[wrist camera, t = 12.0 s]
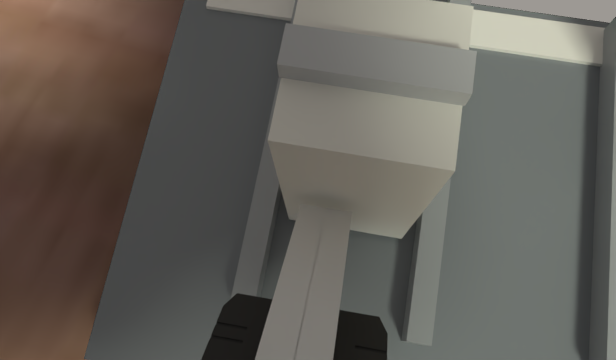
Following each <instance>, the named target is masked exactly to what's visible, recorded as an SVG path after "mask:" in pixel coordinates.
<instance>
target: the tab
mask: <svg viewBox="0 0 616 360" xmlns="http://www.w3.org/2000/svg"><path fill="white" fill-rule="evenodd" d="M473 9H474V6H468V5H461V4H454V3H447V2H440V1H433V0H298V1H297V6H296V11H295V15H294V20H293V24H289V23H286V24H285V29H284V33H283V38H282V43H281V47H280V52H279V56H278V61H277V69H278V75H279V77H280V78H281V81H280V85H279V90H278V94H277V99H276V104H275V108H274V113H273V118H272V122H271V127H270V132H269V136H268V144H269V147H270V151H271V155H272V158H273V162H274V166H275V169H276V173H277V177H278V181H279V184H280V188H281V192H282V195H283V199H284V203H285V206H286V210H287V214H288V217H289V219H290V220H296V218H297V215H298V212H299V208H300V205H301V204H305V205H311V206H317V207H323V208H329V209H335V210H341V211H348V212H352V216H351V224H350V230H353V231H359V232H365V233H370V234H376V235H382V236H388V237H393V238H399V239H402V238H403V236H404V235H405V234H406V233H407V231H408V230H409V229H410V227H411V226H412V225H413V224H414V222H415V221H416V220H417V219H418V217H419V216H420V215H421V214H422V212H423V211H424V210H425V209H426V207H427V206H428V205H429V204H430V202H431V201H432V200H433V199H434V197H435V196H436V195H437V193H438V192H439V191H440V190H441V188H442V187H443V186H444V185H445V183H446V182H447V181H448V180H449V178H450V177H451V176H452V175H453V173H454V172H455V169H456V160H457V151H458V142H459V133H460V125H461V116H462V107H463V106H465V105H466V104H467V102H468V100H469V99H470V97H471V95H472V92H473V83H474V74H475V64H476V55H477V51H472V50H469V45H470V36H471V27H472V18H473Z"/></svg>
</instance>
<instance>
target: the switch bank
mask: <svg viewBox="0 0 616 360" xmlns="http://www.w3.org/2000/svg"><path fill="white" fill-rule="evenodd" d="M297 1H298V0H185V1H184V4H183V8H182V12H181V15H180V19H179V22H178V26H177V29H176V33H175V36H174V40H173V44H172V47H171V51H170V54H169V58H168V61H167V65H166V69H165V72H164V76H163V79H162V83H161V86H160V90H159V93H158V97H157V101H156V104H155V108H154V111H153V115H152V118H151V122H150V125H149V129H148V133H147V136H146V140H145V143H144V147H143V150H142V154H141V158H140V161H139V165H138V168H137V172H136V175H135V179H134V182H133V186H132V190H131V193H130V197H129V200H128V204H127V207H126V211H125V215H124V218H123V222H122V225H121V229H120V232H119V236H118V239H117V243H116V247H115V250H114V254H113V257H112V261H111V264H110V268H109V272H108V275H107V279H106V282H105V286H104V289H103V293H102V296H101V300H100V304H99V307H98V311H97V314H96V318H95V321H94V325H93V329H92V332H91V336H90V339H89V343H88V346H87V350H86V353H85V357H84V359H87V360H201V359H202V356H203V354H204V351H205V349H206V346H207V344H208V341H209V339H210V338H211V334H212V332H213V329H214V327H215V325H216V323H217V320H218V317H219V315H220V312H221V310H222V307H223V305H224V304H226V303H227V302H228V301H229V300H230V299H231V298H232V297H233V296H234V295H236V294H237V293H240V294H245V295H251V296H257V297H262V298H268V299H273V296H274V293H275V289H276V286H277V283H278V279H279V276H280V272H281V269H282V266H283V262H284V259H285V256H286V252H287V249H288V245H289V242H290V239H291V235H292V232H293V228H294V225H295V222H296V220H290V219H289V217H288V214H287V210H286V206H285V203H284V199H283V195H282V192H281V188H280V184H279V181H278V177H277V173H276V169H275V166H274V162H273V158H272V155H271V151H270V147H269V144H268V136H269V132H270V127H271V122H272V118H273V113H274V108H275V104H276V99H277V94H278V90H279V85H280V81H281V78H280V77H279V75H278V69H277V61H278V56H279V52H280V47H281V43H282V38H283V33H284V29H285V24H286V23H289V24H293V20H294V15H295V11H296V6H297ZM433 1H440V2H447V3H454V4H461V5H468V6H474V9H473V18H472V27H471V36H470V45H469V50H472V51H477V55H476V64H475V74H474V83H473V92H472V95H471V97H470V99H469V100H468V102H467V104H466V105H465V106H463V107H462V116H461V125H460V133H459V142H458V151H457V160H456V169H455V172H454V173H453V175H452V176H451V177H450V178H449V180H448V181H447V182H446V183H445V185H444V186H443V187H442V188H441V190H440V191H439V192H438V193H437V195H436V196H435V197H434V199H433V200H432V201H431V202H430V204H429V205H428V206H427V207H426V209H425V210H424V211H423V212H422V214H421V215H420V216H419V217H418V219H417V220H416V221H415V222H414V224H413V225H412V226H411V227H410V229H409V230H408V231H407V233H406V234H405V235H404V236H403V238H402V239H399V238H393V237H388V236H382V235H376V234H370V233H365V232H359V231H353V230H350V232H349V240H348V247H347V255H346V263H345V271H344V278H343V286H342V294H341V302H340V309H339V310H344V311H349V312H355V313H361V314H366V315H372V316H378V317H380V319H381V321H382V323H383V325H384V327H385V329H386V331H387V333H388V341H387V360H616V17H615V18H614V19H613V21H612V22H611V23H606V22H599V21H592V20H585V19H577V18H571V17H564V16H557V15H549V14H543V13H535V12H528V11H521V10H514V9H507V8H500V7H493V6H486V5H478V4H472V3H471V0H433Z"/></svg>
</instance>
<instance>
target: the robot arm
mask: <svg viewBox="0 0 616 360" xmlns="http://www.w3.org/2000/svg"><path fill="white" fill-rule="evenodd" d="M351 216H352V212H348V211H341V210H335V209H329V208H323V207H317V206H311V205H305V204H301V205H300V208H299V212H298V215H297V218H296V222H295V225H294V228H293V232H292V235H291V239H290V242H289V245H288V249H287V252H286V256H285V259H284V262H283V266H282V269H281V272H280V276H279V279H278V283H277V286H276V289H275V293H274V296H273V299H268V298H262V297H257V296H251V295H245V294H240V293H237V294H236V295H234V296H233V297H232V298H231V299H230V300H229V301H228V302H227V303H226V304H224V305H223V307H222V310H221V312H220V315H219V317H218V320H217V323H216V325H215V327H214V329H213V332H212V334H211V338H210V339H209V341H208V344H207V346H206V349H205V351H204V354H203V356H202V359H201V360H387V341H388V333H387V331H386V329H385V327H384V325H383V323H382V321H381V319H380V317H378V316H372V315H366V314H361V313H355V312H349V311H344V310H339V309H340V302H341V294H342V286H343V278H344V271H345V263H346V255H347V247H348V240H349V232H350V224H351Z"/></svg>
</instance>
